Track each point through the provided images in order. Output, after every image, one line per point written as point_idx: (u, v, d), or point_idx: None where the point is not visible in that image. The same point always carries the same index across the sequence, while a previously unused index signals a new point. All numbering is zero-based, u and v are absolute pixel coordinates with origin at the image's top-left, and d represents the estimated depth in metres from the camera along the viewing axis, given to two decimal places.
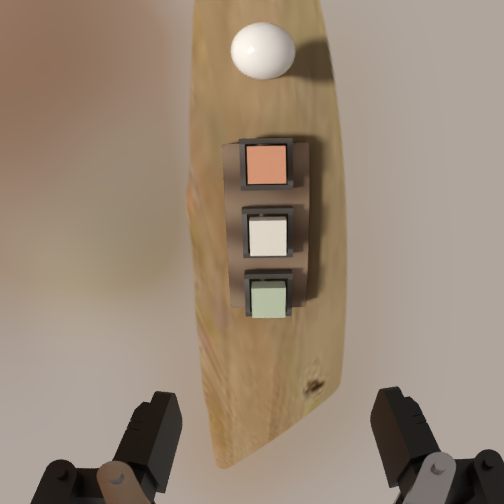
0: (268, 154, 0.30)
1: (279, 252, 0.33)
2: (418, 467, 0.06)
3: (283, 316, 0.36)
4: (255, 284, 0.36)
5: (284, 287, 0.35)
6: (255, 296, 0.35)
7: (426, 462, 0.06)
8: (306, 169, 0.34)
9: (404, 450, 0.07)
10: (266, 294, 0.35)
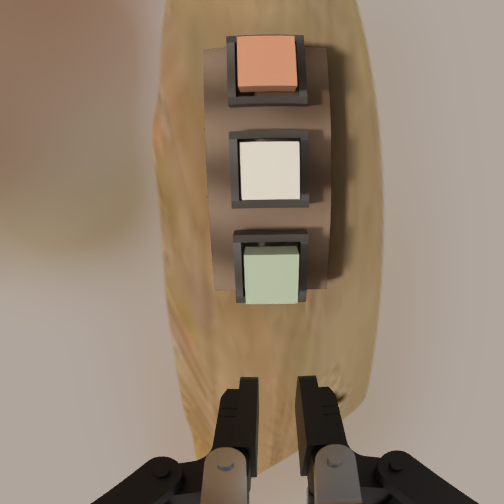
0: (269, 45, 0.17)
1: (288, 193, 0.20)
2: None
3: (295, 301, 0.23)
4: (250, 250, 0.23)
5: (296, 253, 0.22)
6: (250, 268, 0.22)
7: (318, 459, 0.07)
8: (324, 82, 0.21)
9: (305, 437, 0.08)
10: (268, 264, 0.22)
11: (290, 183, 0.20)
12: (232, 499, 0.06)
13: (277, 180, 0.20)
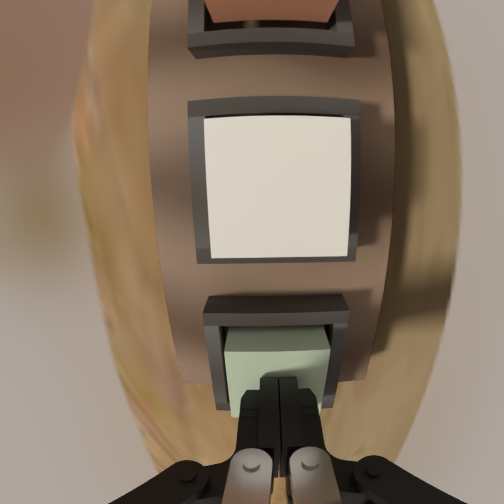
0: None
1: (323, 244, 0.08)
2: None
3: None
4: (238, 334, 0.12)
5: (326, 346, 0.11)
6: (237, 372, 0.11)
7: (293, 463, 0.07)
8: (377, 20, 0.09)
9: (281, 438, 0.08)
10: (271, 366, 0.11)
11: (327, 219, 0.08)
12: (254, 501, 0.06)
13: (297, 212, 0.08)
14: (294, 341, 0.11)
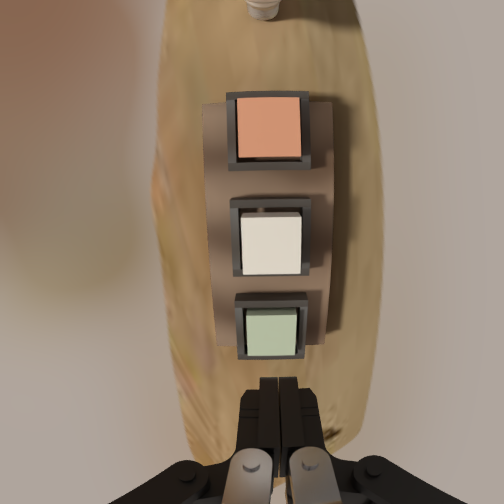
0: (272, 109, 0.18)
1: (289, 268, 0.21)
2: None
3: (292, 353, 0.24)
4: (252, 309, 0.24)
5: (294, 313, 0.23)
6: (252, 327, 0.24)
7: (293, 463, 0.07)
8: (329, 141, 0.21)
9: (281, 438, 0.08)
10: (268, 323, 0.23)
11: (291, 258, 0.20)
12: (254, 501, 0.06)
13: (278, 256, 0.20)
14: (279, 311, 0.24)
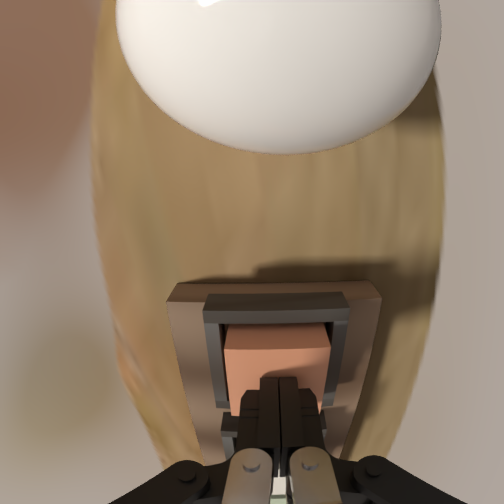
0: (283, 366, 0.11)
1: None
2: None
3: None
4: None
5: None
6: None
7: (293, 463, 0.07)
8: (364, 353, 0.14)
9: (281, 438, 0.08)
10: None
11: None
12: (254, 501, 0.06)
13: (280, 487, 0.13)
14: None
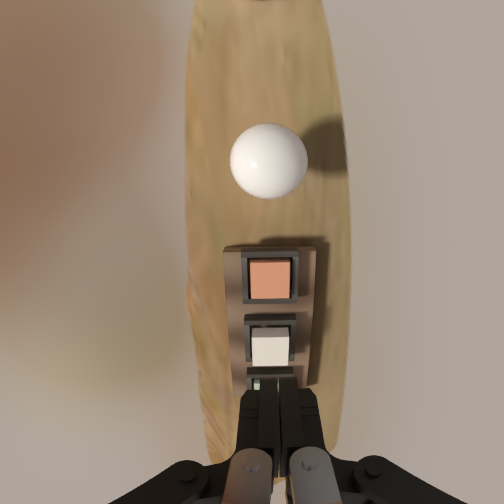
0: (272, 270, 0.30)
1: (281, 363, 0.32)
2: None
3: None
4: None
5: None
6: (257, 389, 0.35)
7: (292, 463, 0.07)
8: (311, 278, 0.33)
9: (281, 438, 0.08)
10: None
11: (282, 358, 0.32)
12: (254, 501, 0.06)
13: (274, 357, 0.32)
14: None
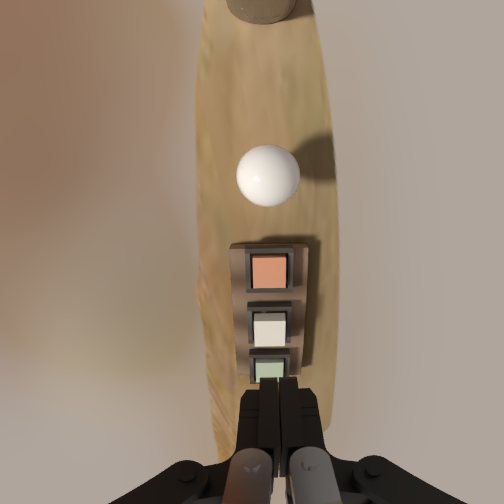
0: (271, 264, 0.36)
1: (279, 343, 0.38)
2: None
3: None
4: (258, 358, 0.42)
5: (282, 361, 0.41)
6: (258, 368, 0.41)
7: (292, 463, 0.07)
8: (304, 271, 0.39)
9: (281, 438, 0.08)
10: (267, 366, 0.41)
11: (280, 339, 0.38)
12: (254, 501, 0.06)
13: (273, 338, 0.38)
14: (274, 360, 0.41)
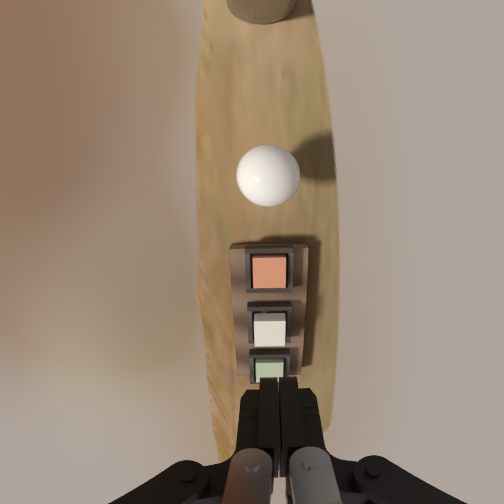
0: (271, 264, 0.36)
1: (279, 343, 0.38)
2: None
3: None
4: (258, 358, 0.42)
5: (282, 361, 0.41)
6: (258, 368, 0.41)
7: (293, 463, 0.07)
8: (304, 271, 0.39)
9: (281, 438, 0.08)
10: (267, 366, 0.41)
11: (280, 339, 0.38)
12: (254, 501, 0.06)
13: (273, 338, 0.38)
14: (274, 360, 0.41)
